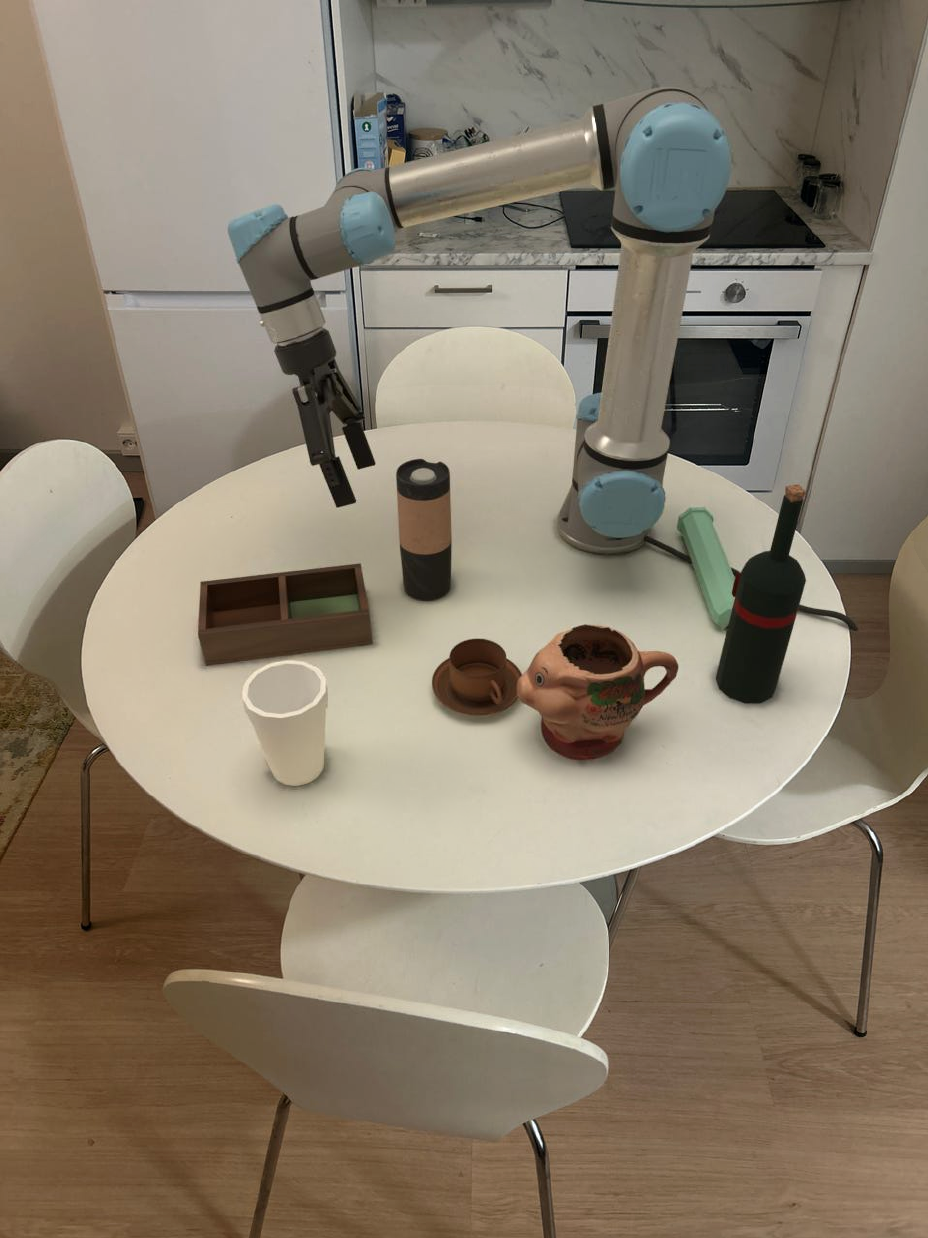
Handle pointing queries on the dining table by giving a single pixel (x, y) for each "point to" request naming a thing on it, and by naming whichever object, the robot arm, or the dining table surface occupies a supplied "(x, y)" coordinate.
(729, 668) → the wine bottle
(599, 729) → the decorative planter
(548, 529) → the dining table surface
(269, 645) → the divided box
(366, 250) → the robot arm
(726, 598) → the container
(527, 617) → the dining table surface
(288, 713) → the foam cup
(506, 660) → the cup and saucer
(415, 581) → the travel mug
